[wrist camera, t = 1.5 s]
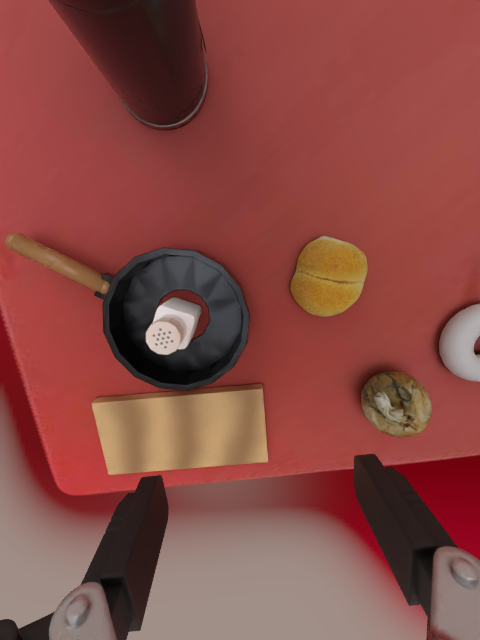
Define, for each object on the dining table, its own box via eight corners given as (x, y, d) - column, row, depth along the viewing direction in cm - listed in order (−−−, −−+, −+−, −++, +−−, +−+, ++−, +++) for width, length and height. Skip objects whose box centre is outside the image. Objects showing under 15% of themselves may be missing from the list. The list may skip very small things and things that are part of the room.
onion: (351, 419, 37) (381, 463, 29) (350, 366, 35) (383, 397, 28) (406, 414, 37) (451, 456, 29) (408, 359, 35) (457, 389, 27)
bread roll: (282, 305, 33) (288, 312, 29) (304, 231, 31) (313, 228, 27) (345, 321, 34) (359, 329, 30) (371, 249, 32) (389, 248, 28)
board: (113, 466, 39) (108, 475, 37) (97, 397, 36) (91, 403, 35) (267, 454, 38) (268, 462, 37) (261, 383, 36) (262, 388, 34)
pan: (270, 288, 33) (274, 293, 29) (212, 393, 36) (209, 411, 32) (53, 173, 30) (24, 160, 26) (11, 299, 33) (-21, 306, 29)
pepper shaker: (163, 325, 34) (135, 351, 25) (172, 295, 33) (146, 310, 24) (194, 334, 34) (178, 364, 25) (203, 305, 33) (190, 324, 24)
